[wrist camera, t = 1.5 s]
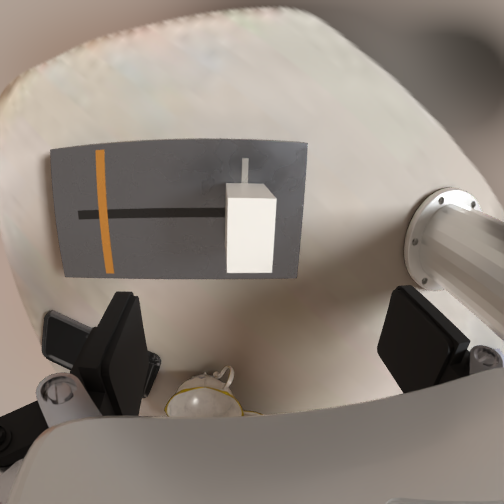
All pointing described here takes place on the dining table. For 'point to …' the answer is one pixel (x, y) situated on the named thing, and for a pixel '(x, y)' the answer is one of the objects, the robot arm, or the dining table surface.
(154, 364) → the phone
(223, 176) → the fader console
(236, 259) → the fader tab
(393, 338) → the robot arm
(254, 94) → the dining table surface
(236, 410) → the chinaware
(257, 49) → the dining table surface
